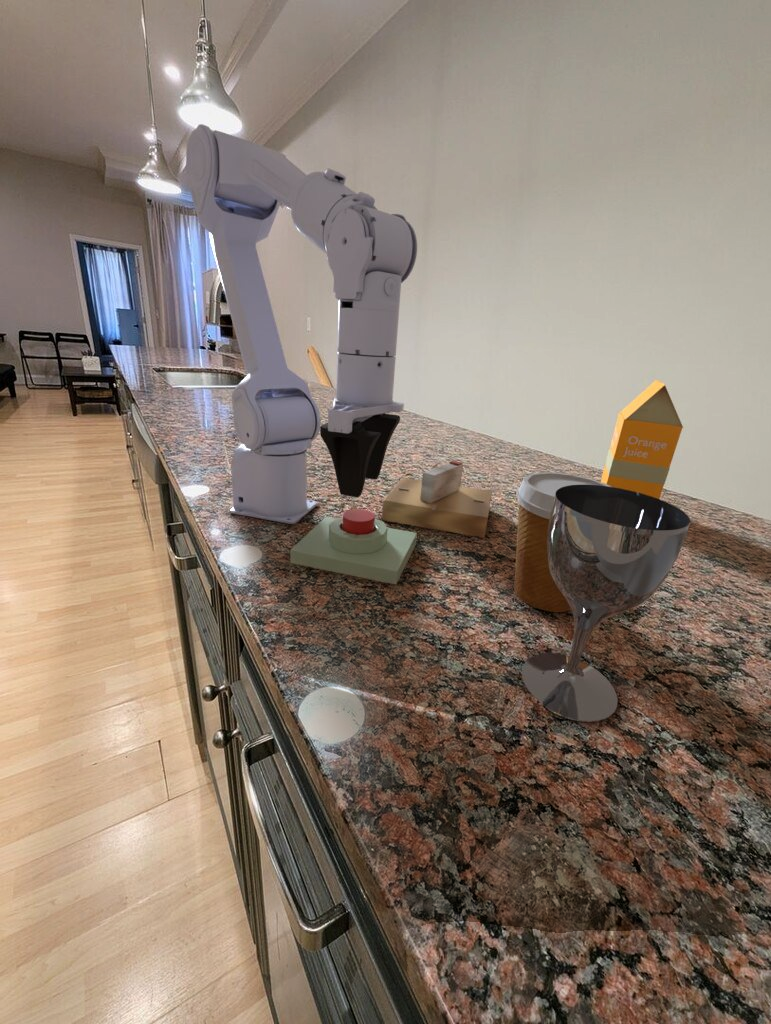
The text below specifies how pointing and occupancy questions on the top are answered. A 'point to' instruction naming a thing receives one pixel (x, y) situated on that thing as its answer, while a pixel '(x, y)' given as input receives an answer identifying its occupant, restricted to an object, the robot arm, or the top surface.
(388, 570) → the button block
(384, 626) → the top surface
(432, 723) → the top surface
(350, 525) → the button
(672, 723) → the top surface
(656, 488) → the orange juice
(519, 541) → the disposable coffee cup
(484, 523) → the wooden base
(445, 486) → the grey rectangular block
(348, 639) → the top surface
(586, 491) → the wine glass
